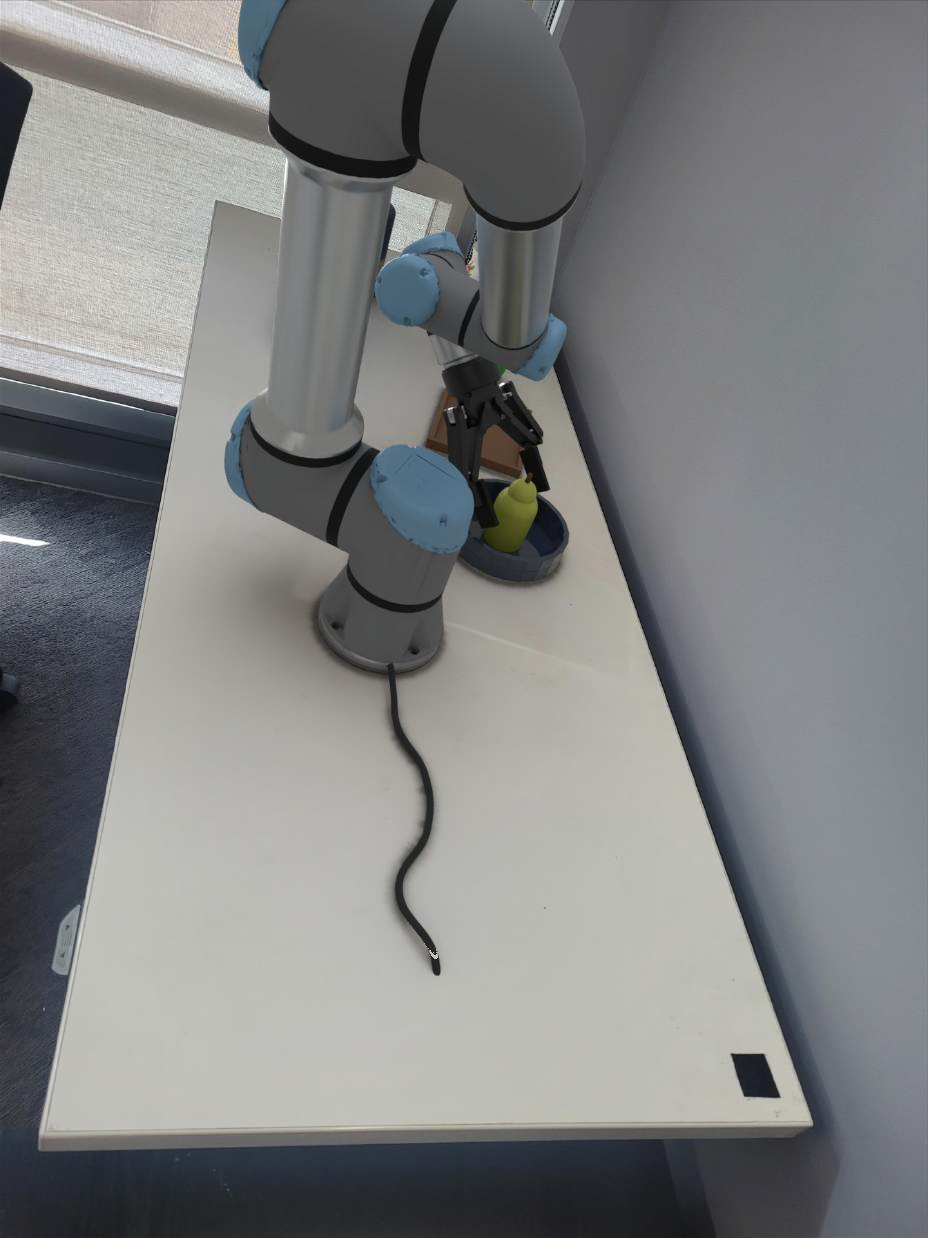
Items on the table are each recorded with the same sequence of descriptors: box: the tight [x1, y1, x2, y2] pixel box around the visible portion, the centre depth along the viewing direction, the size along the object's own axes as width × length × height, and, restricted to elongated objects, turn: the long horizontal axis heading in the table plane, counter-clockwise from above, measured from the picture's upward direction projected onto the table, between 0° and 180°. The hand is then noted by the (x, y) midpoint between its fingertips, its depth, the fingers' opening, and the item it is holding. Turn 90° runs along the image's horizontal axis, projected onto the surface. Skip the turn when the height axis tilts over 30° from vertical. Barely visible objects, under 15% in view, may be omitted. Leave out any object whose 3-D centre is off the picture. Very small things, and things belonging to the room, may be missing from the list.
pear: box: [483, 473, 538, 552], centre depth 115 cm, size 6×6×12 cm
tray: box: [425, 387, 533, 479], centre depth 137 cm, size 20×16×2 cm
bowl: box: [458, 478, 570, 583], centre depth 118 cm, size 18×18×4 cm
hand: (517, 508), depth 115 cm, fingers open, 13 cm apart
